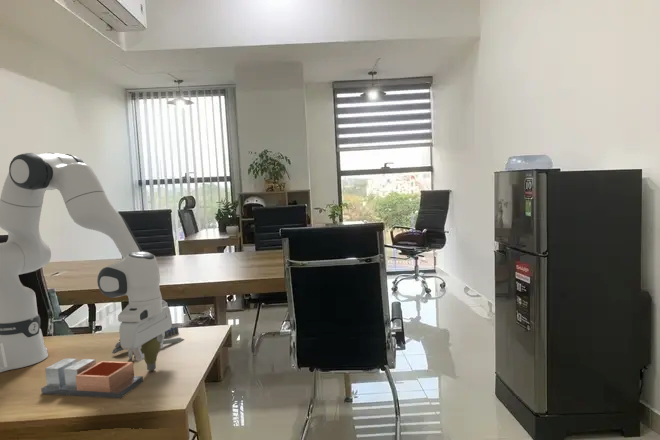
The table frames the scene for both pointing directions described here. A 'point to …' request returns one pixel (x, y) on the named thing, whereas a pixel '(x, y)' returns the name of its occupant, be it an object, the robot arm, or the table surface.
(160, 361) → the table surface
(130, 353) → the caliper
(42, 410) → the table surface
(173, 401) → the table surface
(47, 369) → the desk organizer
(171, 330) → the block letters
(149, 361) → the light bulb
